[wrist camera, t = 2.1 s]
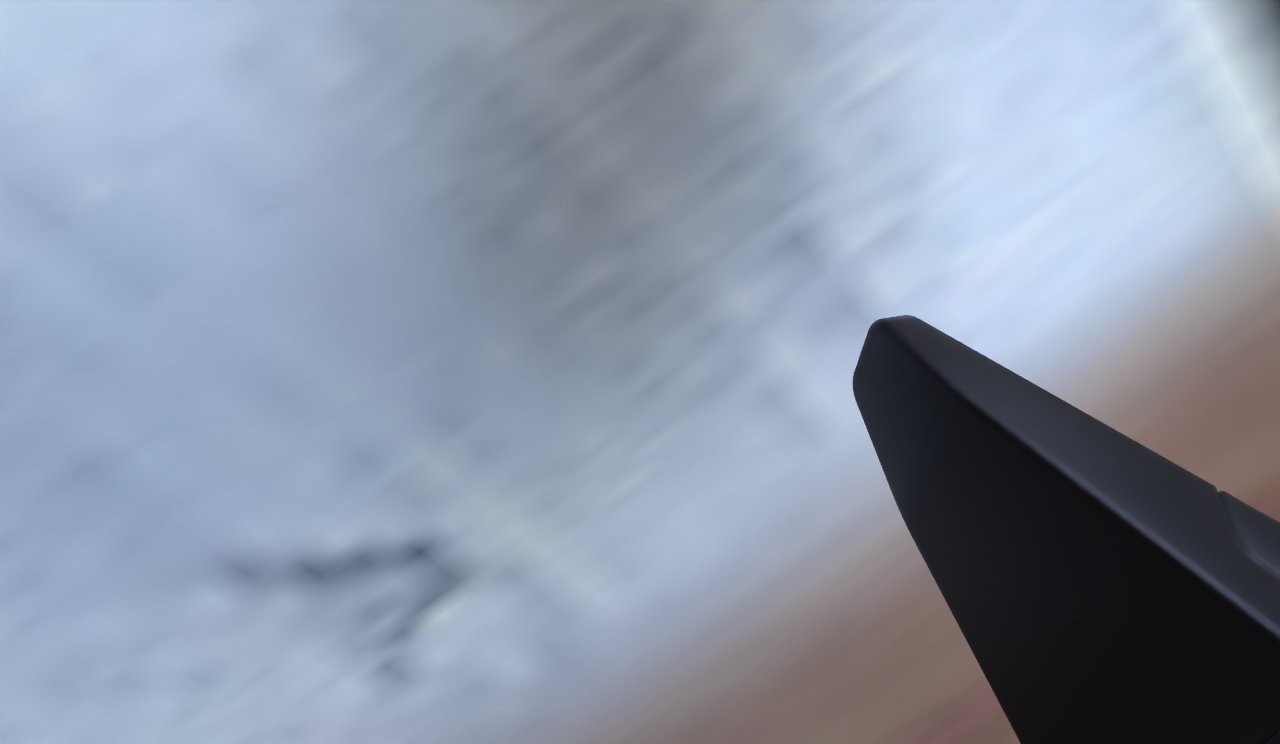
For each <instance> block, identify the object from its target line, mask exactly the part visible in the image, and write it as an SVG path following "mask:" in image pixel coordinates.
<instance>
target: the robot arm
mask: <svg viewBox="0 0 1280 744" xmlns="http://www.w3.org/2000/svg"><path fill="white" fill-rule="evenodd" d="M853 392H854V396H855V400H856V402H857V405H858V407H859V410H860V412H861V415H862V418H863V420H864V423H865V425H866V428H867V430H868V433H869V435H870V438H871V440H872V443H873V446H874V448H875V451H876V453H877V456H878V458H879V461H880V463H881V466H882V468H883V471H884V474H885V476H886V479H887V481H888V484H889V486H890V489H891V491H892V494H893V496H894V499H895V501H896V503H897V506H898V508H899V510H900V513H901V515H902V517H903V519H904V521H905V523H906V525H907V527H908V529H909V532H910V534H911V536H912V538H913V539H914V541H915V543H916V545H917V547H918V549H919V551H920V553H921V555H922V557H923V558H924V560H925V562H926V564H927V566H928V568H929V570H930V572H931V574H932V576H933V577H934V579H935V581H936V583H937V585H938V587H939V589H940V591H941V593H942V595H943V597H944V598H945V600H946V602H947V604H948V606H949V608H950V610H951V612H952V614H953V616H954V617H955V619H956V621H957V623H958V625H959V627H960V629H961V631H962V633H963V635H964V636H965V638H966V640H967V642H968V644H969V646H970V648H971V650H972V652H973V654H974V655H975V657H976V659H977V661H978V663H979V665H980V667H981V669H982V671H983V673H984V674H985V676H986V678H987V680H988V682H989V684H990V686H991V688H992V690H993V692H994V694H995V695H996V697H997V699H998V701H999V703H1000V705H1001V707H1002V709H1003V711H1004V713H1005V714H1006V716H1007V718H1008V720H1009V722H1010V724H1011V726H1012V728H1013V730H1014V732H1015V733H1016V735H1017V737H1018V739H1019V741H1020V743H1021V744H1280V522H1278V521H1276V520H1274V519H1272V518H1271V517H1269V516H1267V515H1265V514H1263V513H1261V512H1260V511H1258V510H1256V509H1254V508H1252V507H1251V506H1249V505H1247V504H1245V503H1244V502H1242V501H1240V500H1238V499H1237V498H1235V497H1233V496H1231V495H1230V494H1228V493H1226V492H1224V491H1219V492H1218V491H1217V489H1216V487H1215V486H1213V485H1212V484H1210V483H1208V482H1206V481H1205V480H1203V479H1201V478H1199V477H1198V476H1196V475H1194V474H1192V473H1190V472H1189V471H1187V470H1185V469H1183V468H1182V467H1180V466H1178V465H1176V464H1175V463H1173V462H1171V461H1169V460H1168V459H1166V458H1164V457H1162V456H1160V455H1159V454H1157V453H1155V452H1153V451H1152V450H1150V449H1148V448H1146V447H1145V446H1143V445H1141V444H1139V443H1137V442H1136V441H1134V440H1132V439H1130V438H1129V437H1127V436H1125V435H1123V434H1122V433H1120V432H1118V431H1116V430H1115V429H1113V428H1111V427H1109V426H1107V425H1106V424H1104V423H1102V422H1100V421H1099V420H1097V419H1095V418H1093V417H1092V416H1090V415H1088V414H1086V413H1084V412H1083V411H1081V410H1079V409H1077V408H1076V407H1074V406H1072V405H1070V404H1069V403H1067V402H1065V401H1063V400H1062V399H1060V398H1058V397H1056V396H1054V395H1053V394H1051V393H1049V392H1047V391H1046V390H1044V389H1042V388H1040V387H1039V386H1037V385H1035V384H1033V383H1031V382H1030V381H1028V380H1026V379H1024V378H1023V377H1021V376H1019V375H1017V374H1016V373H1014V372H1012V371H1010V370H1009V369H1007V368H1005V367H1003V366H1001V365H1000V364H998V363H996V362H994V361H993V360H991V359H989V358H987V357H986V356H984V355H982V354H980V353H978V352H977V351H975V350H973V349H971V348H970V347H968V346H966V345H964V344H963V343H961V342H959V341H957V340H956V339H954V338H952V337H950V336H948V335H947V334H945V333H943V332H941V331H940V330H938V329H936V328H934V327H933V326H931V325H929V324H927V323H925V322H924V321H922V320H920V319H918V318H916V317H914V316H910V315H903V316H897V317H890V318H883V319H879V320H877V321H875V322H874V323H873V324H872V325H871V326H870V328H869V331H868V333H867V336H866V339H865V342H864V345H863V348H862V351H861V354H860V357H859V360H858V363H857V366H856V369H855V372H854V375H853Z"/></svg>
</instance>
